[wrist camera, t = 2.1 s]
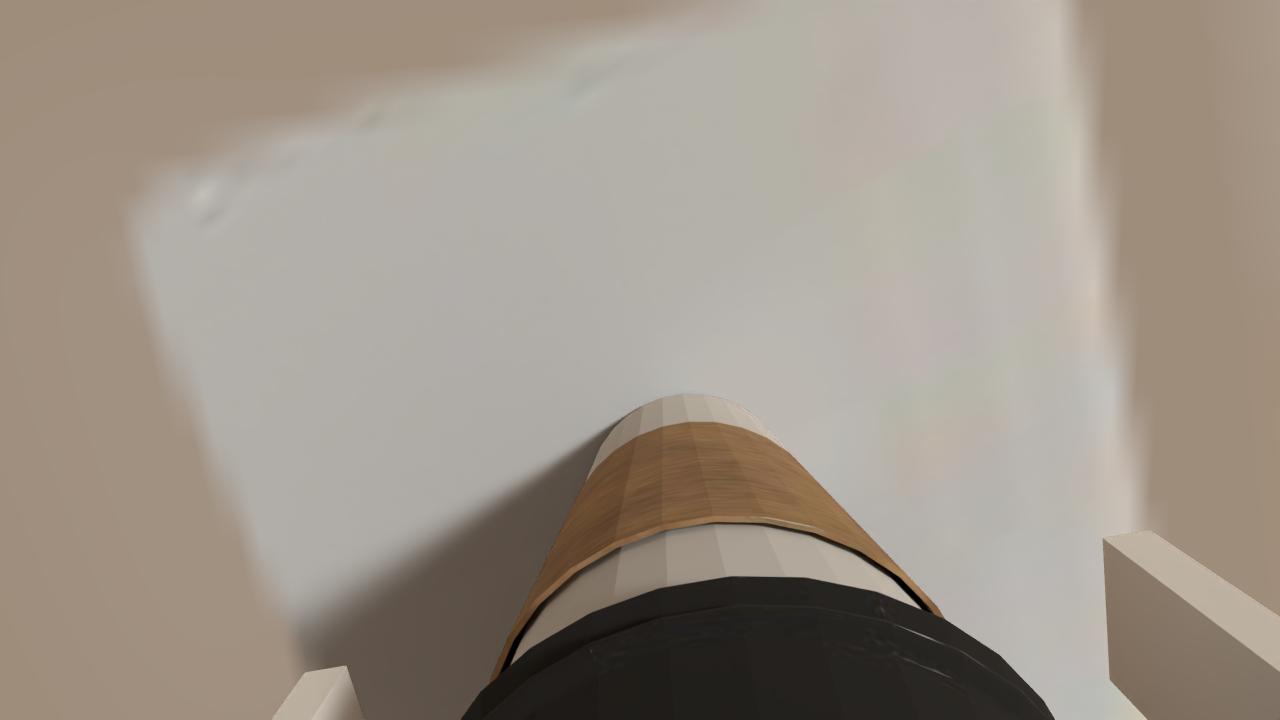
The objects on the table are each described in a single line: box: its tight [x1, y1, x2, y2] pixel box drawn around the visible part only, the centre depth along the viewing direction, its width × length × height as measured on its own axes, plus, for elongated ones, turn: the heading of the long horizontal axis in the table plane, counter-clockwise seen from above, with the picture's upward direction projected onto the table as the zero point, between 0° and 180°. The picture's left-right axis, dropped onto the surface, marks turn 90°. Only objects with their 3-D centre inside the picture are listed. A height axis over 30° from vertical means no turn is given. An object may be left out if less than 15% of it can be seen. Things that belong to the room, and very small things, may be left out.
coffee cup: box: [461, 394, 1055, 720], centre depth 13 cm, size 8×8×15 cm
